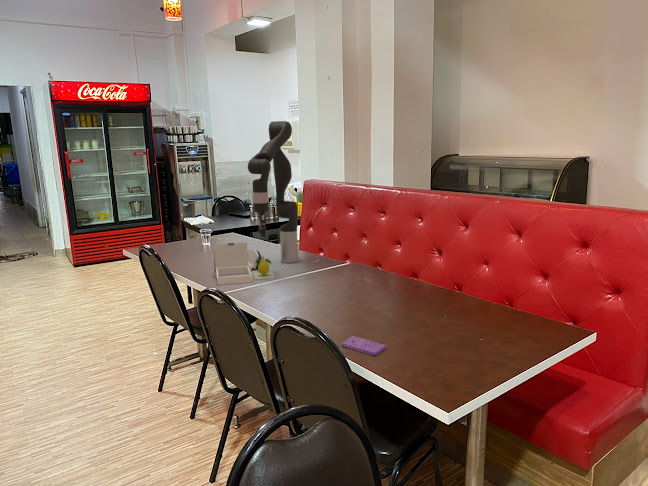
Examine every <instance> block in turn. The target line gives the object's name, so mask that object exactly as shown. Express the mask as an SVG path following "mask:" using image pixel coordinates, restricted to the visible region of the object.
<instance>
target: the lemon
mask: <svg viewBox="0 0 648 486" xmlns="http://www.w3.org/2000/svg"><path fill="white" fill-rule="evenodd" d="M262 256H263V260H262V261H261V262H260V263H259V265H258V269H257V270H258V273H261V274H263V275H265V274H267V273H268V272H270V265H272V262H271V260H270V258H269V259H268V258H264V255H262ZM261 259H262V258H258V259H257V260H256V262H255V263H257V262H258V261H260V260H261Z"/></svg>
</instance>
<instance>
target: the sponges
mask: <svg viewBox="0 0 648 486" xmlns="http://www.w3.org/2000/svg"><path fill="white" fill-rule="evenodd" d="M342 346H344V347H343V348H345V347H347V348H346V349H348V348H350V349H349V350H352V349H353V350H352V351H355V350H356V352H358V353H362V352H363V354H365V353H366V355H369V356H372V355H376V356H377V355H379V354H380V353H382V352H383V351H385V350H386V349H385V348H386V344H381V343H379V342H375V341H372V340H369V339H365V338H361V337H358V336H355V335H352V336H350V337H349V338H347V339H346V340H344V341H343V342H341V347H342ZM378 353H379V354H378Z"/></svg>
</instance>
